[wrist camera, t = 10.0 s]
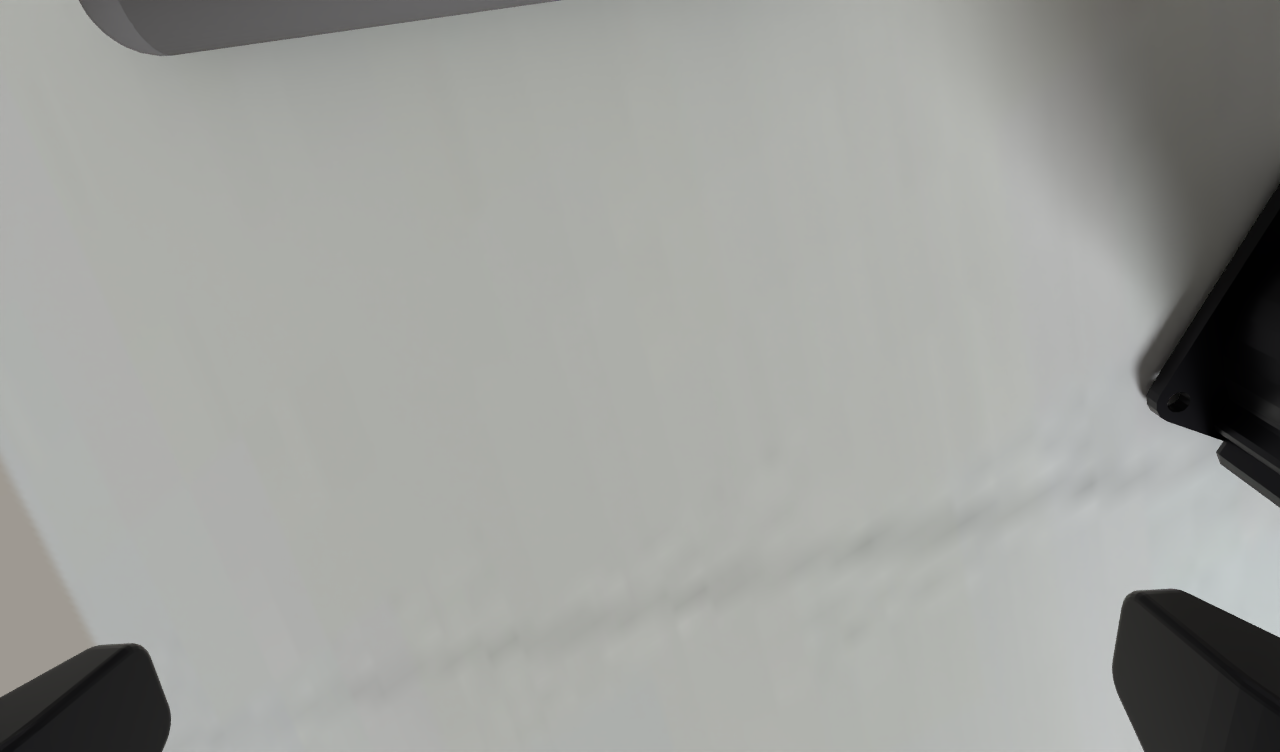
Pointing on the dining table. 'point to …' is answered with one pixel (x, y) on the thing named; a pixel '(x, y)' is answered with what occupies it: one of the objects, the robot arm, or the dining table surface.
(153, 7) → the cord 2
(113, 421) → the dining table surface
